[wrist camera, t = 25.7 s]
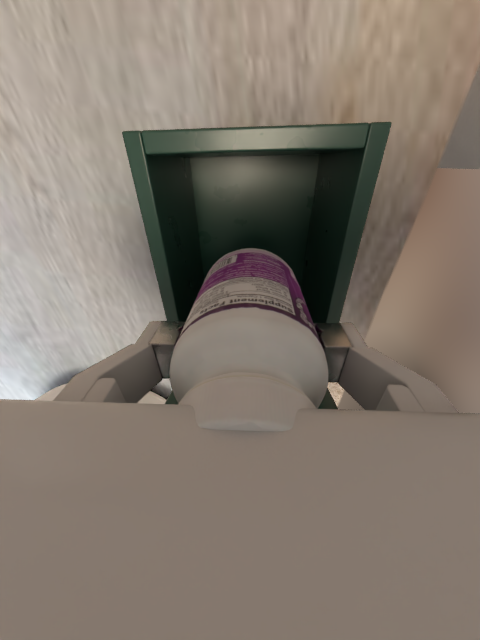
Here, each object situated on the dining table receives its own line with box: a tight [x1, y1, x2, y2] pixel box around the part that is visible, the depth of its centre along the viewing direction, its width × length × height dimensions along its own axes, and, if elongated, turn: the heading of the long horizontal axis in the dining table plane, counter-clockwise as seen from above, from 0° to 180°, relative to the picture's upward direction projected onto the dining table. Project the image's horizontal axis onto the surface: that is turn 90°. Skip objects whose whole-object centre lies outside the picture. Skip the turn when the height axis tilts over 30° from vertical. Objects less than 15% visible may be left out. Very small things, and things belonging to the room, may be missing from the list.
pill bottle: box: [169, 248, 328, 432], centre depth 10 cm, size 5×5×10 cm
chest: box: [122, 122, 391, 324], centre depth 17 cm, size 15×11×9 cm
